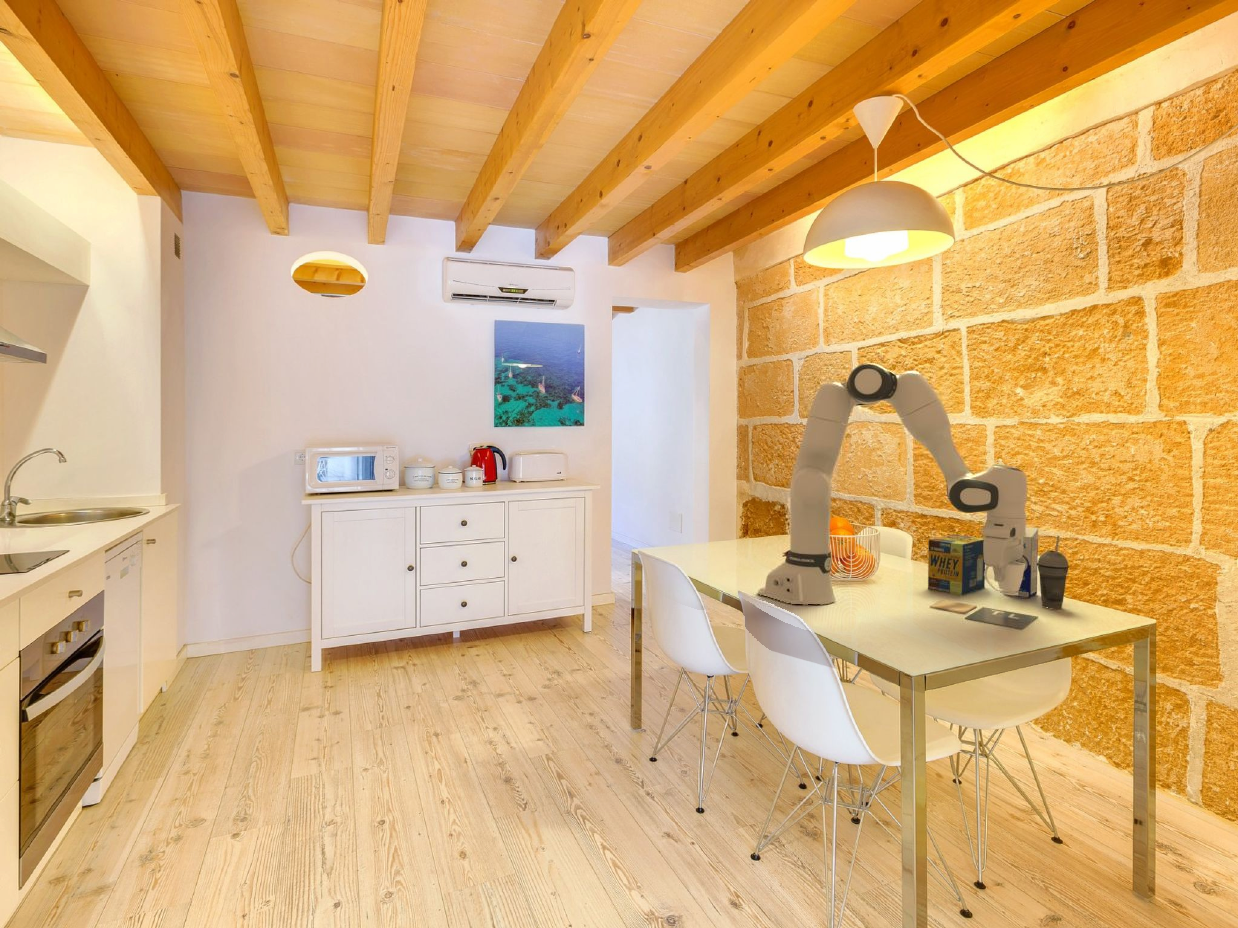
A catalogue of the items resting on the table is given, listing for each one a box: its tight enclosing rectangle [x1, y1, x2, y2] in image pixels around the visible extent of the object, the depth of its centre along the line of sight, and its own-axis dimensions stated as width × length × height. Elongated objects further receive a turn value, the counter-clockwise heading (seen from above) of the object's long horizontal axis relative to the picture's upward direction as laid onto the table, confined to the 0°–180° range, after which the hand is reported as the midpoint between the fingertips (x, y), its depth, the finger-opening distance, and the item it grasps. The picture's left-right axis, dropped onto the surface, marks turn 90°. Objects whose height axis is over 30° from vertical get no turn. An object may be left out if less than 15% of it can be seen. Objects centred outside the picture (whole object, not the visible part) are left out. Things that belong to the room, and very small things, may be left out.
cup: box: [984, 561, 1025, 596], centre depth 170 cm, size 7×10×8 cm
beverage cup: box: [1037, 535, 1070, 610], centre depth 177 cm, size 7×7×20 cm
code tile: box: [964, 606, 1039, 630], centre depth 168 cm, size 13×14×1 cm
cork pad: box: [929, 599, 977, 615], centre depth 178 cm, size 9×9×1 cm
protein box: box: [927, 534, 986, 596], centre depth 199 cm, size 10×15×16 cm
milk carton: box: [1003, 526, 1040, 599], centre depth 190 cm, size 7×7×20 cm
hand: (1003, 579), depth 169 cm, fingers closed on cup, 6 cm apart
